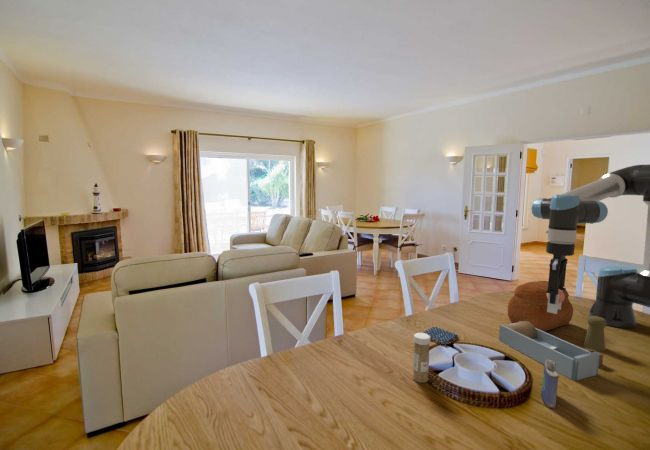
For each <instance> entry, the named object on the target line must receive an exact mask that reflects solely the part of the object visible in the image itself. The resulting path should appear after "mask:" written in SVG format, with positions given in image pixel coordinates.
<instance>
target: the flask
mask: <svg viewBox="0 0 650 450" xmlns="http://www.w3.org/2000/svg"><path fill="white" fill-rule="evenodd" d="M543 365H544V366H543V376H542V383H541V390H540V391H541V392H540V396H541V400H542V402H543V404H544V405H545V407H547V408H549V409H553V410H554V409H555V408H556V406H557V405H556V403H557V393H558V385H559V384H558V382H559V379H560V378H559V373H558V372H557V371H556V370H555V365H556V363H555V362H554V361H552V360H548V359H547V360H546V361H545V364H543Z"/></svg>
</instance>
